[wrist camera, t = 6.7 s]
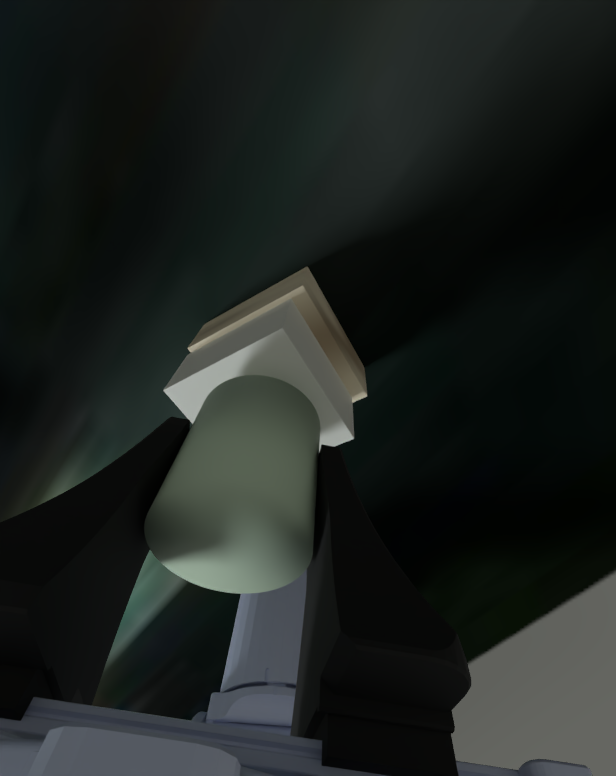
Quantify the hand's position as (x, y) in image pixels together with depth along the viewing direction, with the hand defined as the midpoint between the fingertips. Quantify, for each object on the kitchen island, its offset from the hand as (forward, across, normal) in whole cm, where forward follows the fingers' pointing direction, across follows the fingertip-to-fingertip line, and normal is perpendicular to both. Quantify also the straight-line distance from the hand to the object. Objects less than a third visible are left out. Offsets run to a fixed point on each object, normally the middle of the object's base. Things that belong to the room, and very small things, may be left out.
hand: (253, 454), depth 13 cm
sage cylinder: (+1, 0, 0) cm, 1 cm away
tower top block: (+6, 0, 0) cm, 6 cm away
